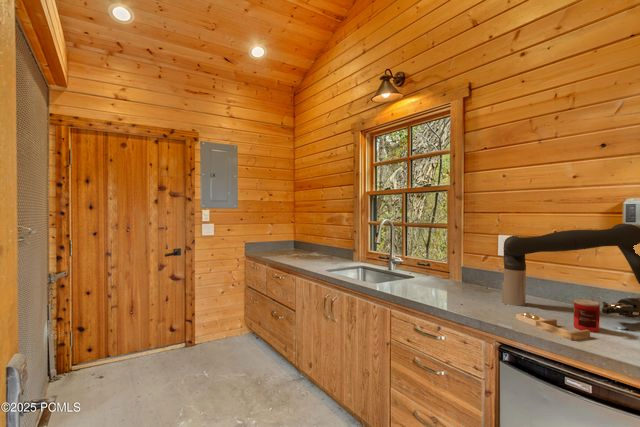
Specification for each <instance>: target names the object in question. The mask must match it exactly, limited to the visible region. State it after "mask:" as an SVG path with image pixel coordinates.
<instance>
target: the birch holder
mask: <svg viewBox="0 0 640 427" xmlns="http://www.w3.org/2000/svg"><path fill="white" fill-rule="evenodd" d="M557 324H558V319H556V318H550V319H549V318H548V319H546V320H541V321H536V326H535V327H536V328H537V329H539V330H542V331H545V332H547V333H550V334H553V335H555V336H558V337H561V338H563V339H566V340H568V341H576V340H583V339H589V338H591V332H590V330H574V331H573V330H572V331H569V330H566V329H563V328H560V327H557V326H558V325H557Z"/></svg>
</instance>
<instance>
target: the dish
mask: <svg viewBox="0 0 640 427" xmlns="http://www.w3.org/2000/svg"><path fill="white" fill-rule="evenodd" d="M529 314H530V313H529ZM530 315H531V317H532V316H533V314H530ZM538 317H539V316H538ZM515 319H516V320H519V321H521V322H524V323H527V324H530V325H533V326H535V327H536V321H541V320H547V319H545V318H542V317H539V319H540V320H533V319H530V318H527V317H525V316H523V313H516V314H515Z"/></svg>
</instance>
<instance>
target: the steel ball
mask: <svg viewBox="0 0 640 427" xmlns="http://www.w3.org/2000/svg"><path fill="white" fill-rule="evenodd" d="M531 315H532V314H531ZM531 315H530V313H529V312H528V311H527V312H524V313H523V316H525V317H527V318H530V319H531Z"/></svg>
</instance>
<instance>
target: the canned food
mask: <svg viewBox="0 0 640 427" xmlns="http://www.w3.org/2000/svg"><path fill="white" fill-rule="evenodd" d="M600 308H601V307H600V302H597V301H594V300H591V299H583V298H575V299H574V301H573V328H575V329H576V330H578V331H580V330H590V333H599V332H600V314H601V313H600V312H601V311H600Z"/></svg>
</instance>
